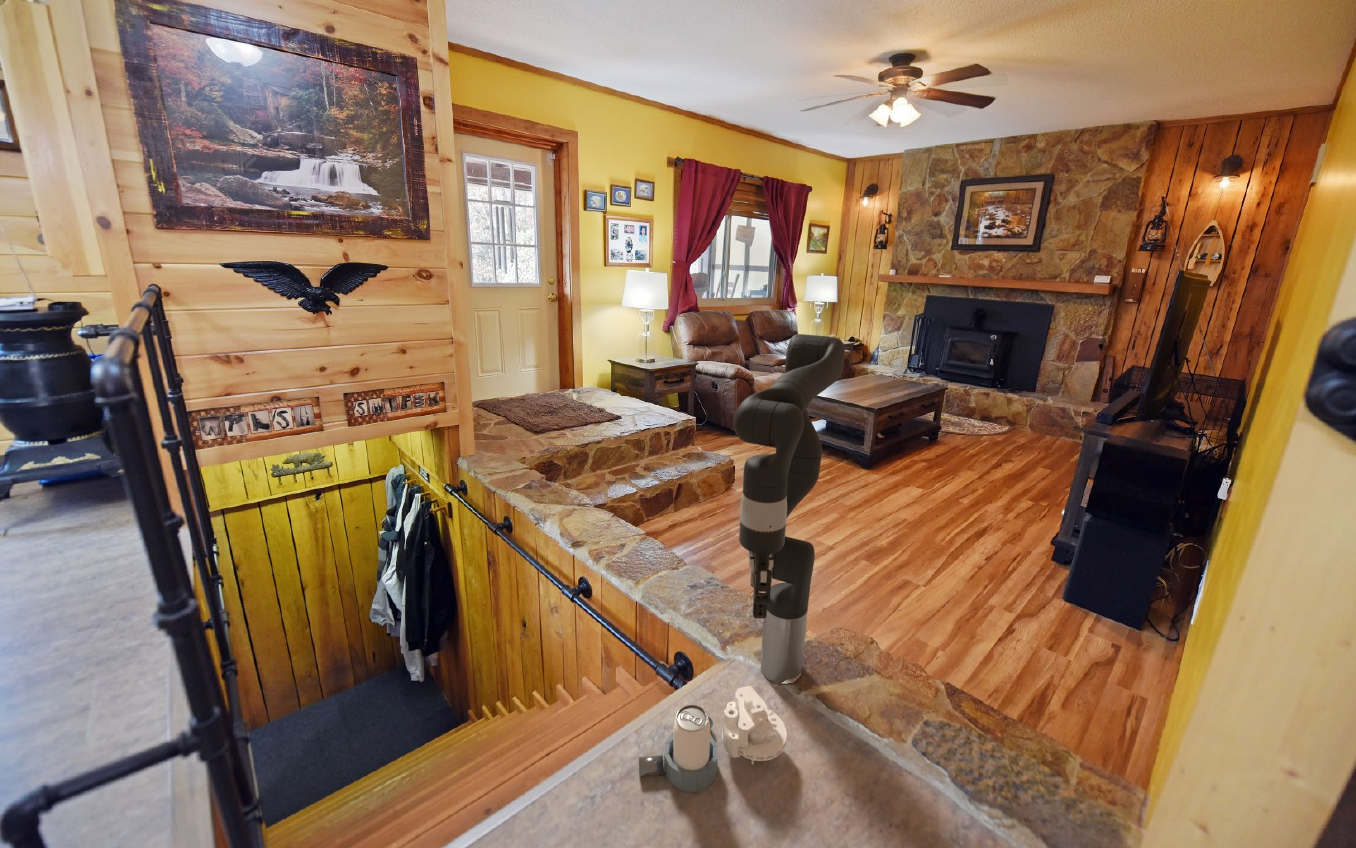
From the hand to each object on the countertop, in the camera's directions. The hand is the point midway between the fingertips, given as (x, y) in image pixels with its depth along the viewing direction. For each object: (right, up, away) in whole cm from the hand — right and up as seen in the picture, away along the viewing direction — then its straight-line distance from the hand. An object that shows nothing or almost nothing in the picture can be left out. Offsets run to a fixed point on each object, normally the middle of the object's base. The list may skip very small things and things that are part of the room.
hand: (757, 600), depth 96 cm
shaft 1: (-19, -33, +5) cm, 38 cm away
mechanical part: (0, -32, +10) cm, 33 cm away
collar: (-11, -33, +6) cm, 35 cm away
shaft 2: (-9, -31, +13) cm, 34 cm away
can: (-11, -32, +5) cm, 35 cm away
